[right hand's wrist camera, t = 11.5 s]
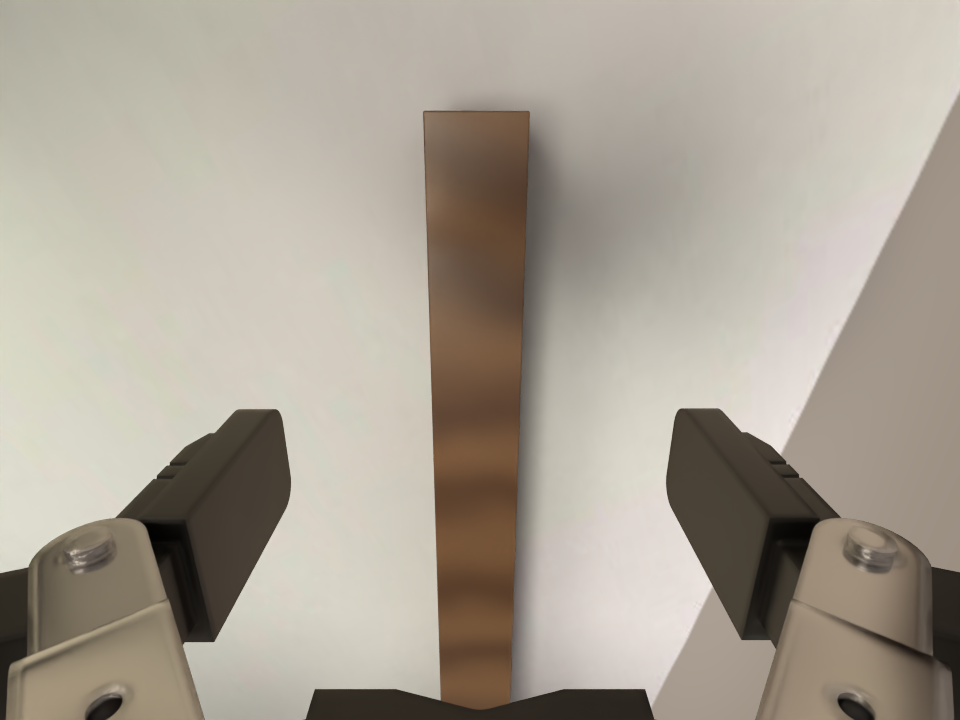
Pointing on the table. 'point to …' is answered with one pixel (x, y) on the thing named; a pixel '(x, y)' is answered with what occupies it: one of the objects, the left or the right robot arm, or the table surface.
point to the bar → (476, 387)
